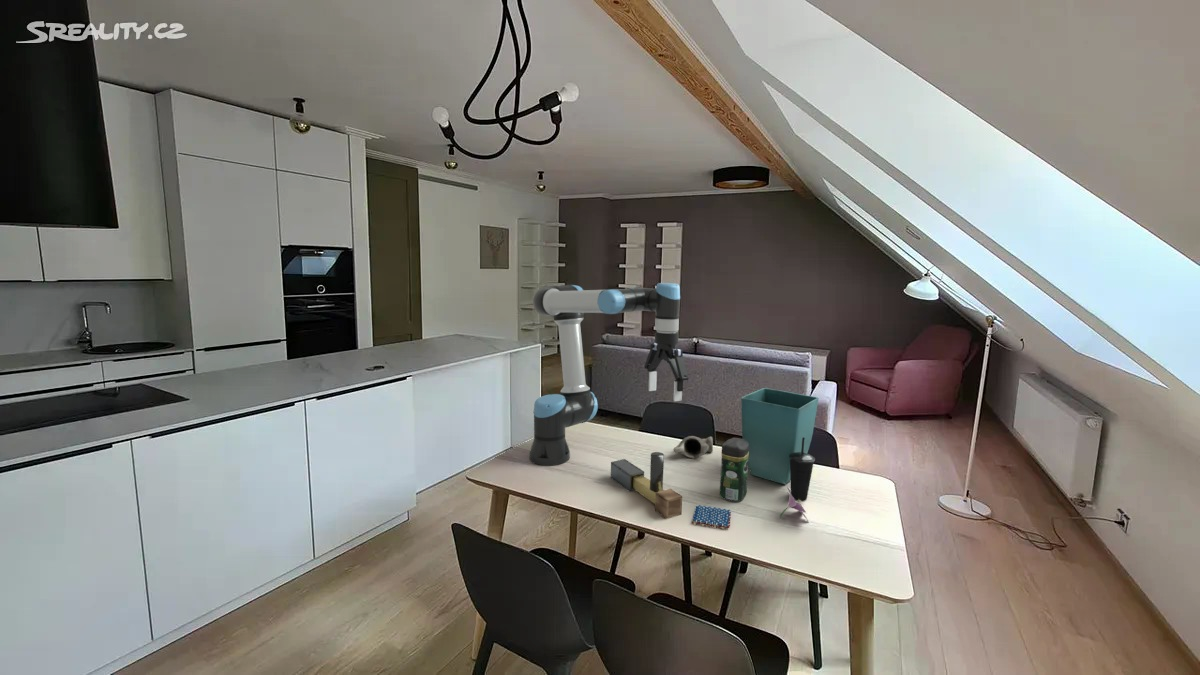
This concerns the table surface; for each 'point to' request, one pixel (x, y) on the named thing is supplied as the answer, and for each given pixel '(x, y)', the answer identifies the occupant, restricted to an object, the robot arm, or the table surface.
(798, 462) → the drinking cup
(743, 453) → the coffee jar
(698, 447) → the pipe
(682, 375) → the robot arm
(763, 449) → the teal waste bin
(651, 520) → the table surface
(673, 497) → the socket
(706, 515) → the woven mat
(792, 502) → the lily
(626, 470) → the sleeve
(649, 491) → the slide bolt with knob
